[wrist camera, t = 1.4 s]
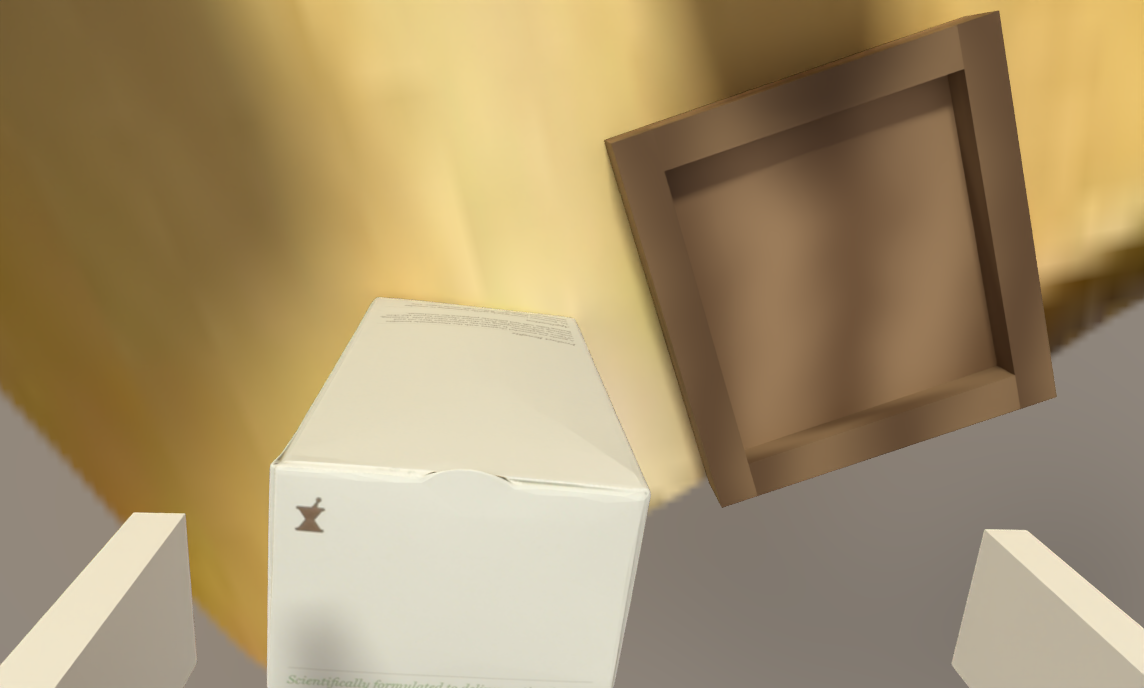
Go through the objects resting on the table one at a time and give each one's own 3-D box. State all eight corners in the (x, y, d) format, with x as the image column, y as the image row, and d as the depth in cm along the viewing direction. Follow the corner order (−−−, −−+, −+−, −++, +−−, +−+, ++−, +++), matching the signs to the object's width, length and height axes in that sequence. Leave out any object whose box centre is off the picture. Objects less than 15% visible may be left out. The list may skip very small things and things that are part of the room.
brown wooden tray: (708, 482, 35) (722, 507, 33) (604, 140, 30) (610, 143, 28) (1023, 378, 34) (1056, 396, 32) (964, 16, 30) (998, 10, 28)
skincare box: (361, 439, 33) (240, 722, 18) (373, 282, 31) (250, 453, 16) (564, 460, 34) (609, 745, 19) (588, 308, 32) (657, 492, 17)
